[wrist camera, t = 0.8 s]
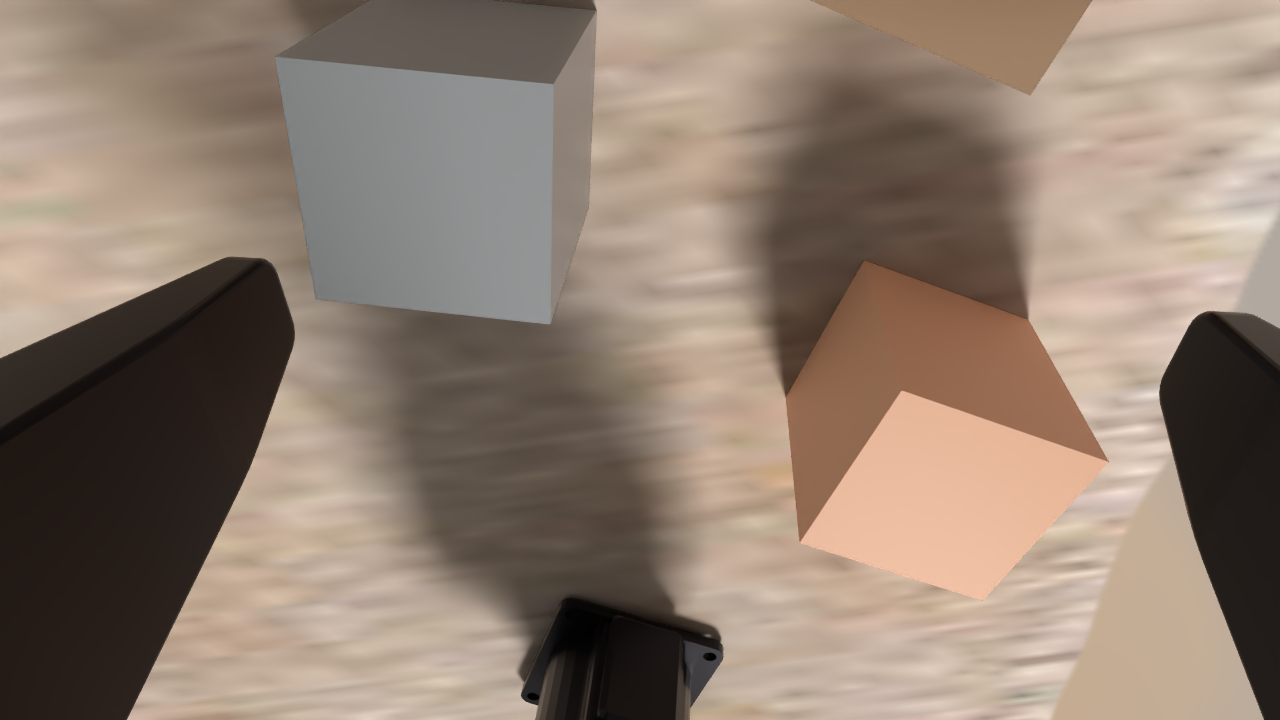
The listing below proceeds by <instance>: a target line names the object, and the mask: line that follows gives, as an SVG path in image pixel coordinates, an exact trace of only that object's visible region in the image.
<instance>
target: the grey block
mask: <svg viewBox="0 0 1280 720" xmlns="http://www.w3.org/2000/svg"><path fill="white" fill-rule="evenodd" d="M596 19H597V10H587V9H577V8H566V7H556V6H546V5H535V4H525V3H514V2H504V1H494V0H369V1H368V2H366V3H364V4H363V5H361V6H359V7H358V8H356V9H354V10H353V11H351V12H349V13H347V14H346V15H344V16H342V17H341V18H339V19H337V20H336V21H334V22H332V23H331V24H329V25H327V26H326V27H324V28H322V29H321V30H319V31H317V32H316V33H314V34H312V35H310V36H309V37H307V38H305V39H304V40H302V41H300V42H299V43H297V44H295V45H294V46H292V47H290V48H289V49H287V50H285V51H284V52H282V53H280V54H279V55H277V56H275V61H276V67H277V73H278V79H279V85H280V91H281V97H282V103H283V108H284V114H285V120H286V126H287V132H288V138H289V144H290V150H291V155H292V161H293V167H294V173H295V179H296V185H297V191H298V197H299V202H300V208H301V214H302V220H303V226H304V232H305V238H306V244H307V249H308V255H309V261H310V267H311V273H312V279H313V285H314V291H315V297H316V299H317V300H327V301H336V302H345V303H354V304H364V305H373V306H382V307H392V308H401V309H410V310H420V311H429V312H438V313H448V314H457V315H466V316H476V317H485V318H494V319H504V320H513V321H522V322H531V323H541V324H551V321H552V318H553V315H554V312H555V309H556V306H557V303H558V300H559V297H560V294H561V291H562V288H563V285H564V282H565V279H566V276H567V272H568V269H569V266H570V263H571V260H572V257H573V254H574V251H575V248H576V245H577V242H578V239H579V236H580V233H581V230H582V227H583V224H584V221H585V218H586V215H587V212H588V209H589V192H590V167H591V142H592V118H593V93H594V68H595V43H596Z"/></svg>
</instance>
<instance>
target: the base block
mask: <svg viewBox="0 0 1280 720" xmlns="http://www.w3.org/2000/svg"><path fill="white" fill-rule="evenodd" d="M811 1H813V2H816V3H818V4H820V5H823V6H825V7H827V8H830V9H832V10H834V11H837V12H839V13H841V14H844V15H846V16H848V17H850V18H853V19H855V20H857V21H860V22H862V23H864V24H867V25H869V26H871V27H874V28H876V29H878V30H880V31H883V32H885V33H887V34H890V35H892V36H894V37H897V38H899V39H901V40H904V41H906V42H908V43H911V44H913V45H915V46H917V47H920V48H922V49H924V50H927V51H929V52H931V53H934V54H936V55H938V56H941V57H943V58H945V59H948V60H950V61H952V62H954V63H957V64H959V65H961V66H964V67H966V68H968V69H971V70H973V71H975V72H978V73H980V74H982V75H984V76H987V77H989V78H991V79H994V80H996V81H998V82H1001V83H1003V84H1005V85H1008V86H1010V87H1012V88H1015V89H1017V90H1019V91H1021V92H1024V93H1026V94H1028V95H1031V94H1032V92H1033V90H1034V89H1035V87H1036V86H1037V84H1038V83H1039V81H1040V80H1041V78H1042V77H1043V75H1044V74H1045V72H1046V71H1047V69H1048V67H1049V66H1050V64H1051V63H1052V61H1053V60H1054V58H1055V57H1056V55H1057V54H1058V52H1059V51H1060V49H1061V48H1062V46H1063V45H1064V43H1065V41H1066V40H1067V38H1068V37H1069V35H1070V34H1071V32H1072V31H1073V29H1074V28H1075V26H1076V25H1077V23H1078V22H1079V20H1080V18H1081V17H1082V15H1083V14H1084V12H1085V11H1086V9H1087V8H1088V6H1089V5H1090V3H1091V2H1092V0H811Z"/></svg>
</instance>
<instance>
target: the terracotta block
mask: <svg viewBox="0 0 1280 720" xmlns="http://www.w3.org/2000/svg"><path fill="white" fill-rule="evenodd" d="M786 405H787V416H788V426H789V437H790V447H791V458H792V468H793V479H794V489H795V500H796V510H797V521H798V531H799V542H800V543H802V544H805V545H808V546H811V547H814V548H817V549H820V550H824V551H827V552H830V553H833V554H836V555H839V556H843V557H846V558H849V559H852V560H855V561H858V562H862V563H865V564H868V565H871V566H874V567H877V568H880V569H884V570H887V571H890V572H893V573H896V574H899V575H903V576H906V577H909V578H912V579H915V580H918V581H922V582H925V583H928V584H931V585H934V586H937V587H940V588H944V589H947V590H950V591H953V592H956V593H959V594H963V595H966V596H969V597H972V598H975V599H978V600H982V601H983V600H984V598H985V597H986V596H987V595H988V594H989V593H990V592H991V591H992V590H993V589H994V588H995V586H996V585H997V584H998V583H999V582H1000V581H1001V580H1002V579H1003V578H1004V577H1005V575H1006V574H1007V573H1008V572H1009V571H1010V570H1011V569H1012V568H1013V567H1014V566H1015V564H1016V563H1017V562H1018V561H1019V560H1020V559H1021V558H1022V557H1023V556H1024V555H1025V553H1026V552H1027V551H1028V550H1029V549H1030V548H1031V547H1032V546H1033V545H1034V544H1035V542H1036V541H1037V540H1038V539H1039V538H1040V537H1041V536H1042V535H1043V534H1044V533H1045V532H1046V530H1047V529H1048V528H1049V527H1050V526H1051V525H1052V524H1053V523H1054V522H1055V521H1056V519H1057V518H1058V517H1059V516H1060V515H1061V514H1062V513H1063V512H1064V511H1065V510H1066V508H1067V507H1068V506H1069V505H1070V504H1071V503H1072V502H1073V501H1074V500H1075V499H1076V497H1077V496H1078V495H1079V494H1080V493H1081V492H1082V491H1083V490H1084V489H1085V488H1086V486H1087V485H1088V484H1089V483H1090V482H1091V481H1092V480H1093V479H1094V478H1095V477H1096V475H1097V474H1098V473H1099V472H1100V471H1101V470H1102V469H1103V468H1104V467H1105V466H1106V465H1107V463H1108V462H1109V461H1108V460H1107V458H1106V456H1105V454H1104V452H1103V451H1102V449H1101V447H1100V445H1099V444H1098V442H1097V440H1096V438H1095V437H1094V435H1093V433H1092V431H1091V429H1090V428H1089V426H1088V424H1087V422H1086V421H1085V419H1084V417H1083V415H1082V414H1081V412H1080V410H1079V408H1078V406H1077V405H1076V403H1075V401H1074V399H1073V398H1072V396H1071V394H1070V392H1069V391H1068V389H1067V387H1066V385H1065V384H1064V382H1063V380H1062V378H1061V376H1060V375H1059V373H1058V371H1057V369H1056V368H1055V366H1054V364H1053V362H1052V361H1051V359H1050V357H1049V355H1048V353H1047V352H1046V350H1045V348H1044V346H1043V345H1042V343H1041V341H1040V339H1039V338H1038V336H1037V334H1036V332H1035V331H1034V329H1033V327H1032V325H1031V323H1030V322H1029V320H1027V319H1025V318H1022V317H1019V316H1016V315H1014V314H1011V313H1008V312H1005V311H1003V310H1000V309H997V308H994V307H992V306H989V305H986V304H983V303H980V302H978V301H975V300H972V299H969V298H967V297H964V296H961V295H958V294H956V293H953V292H950V291H947V290H945V289H942V288H939V287H936V286H934V285H931V284H928V283H925V282H923V281H920V280H917V279H914V278H912V277H909V276H906V275H903V274H901V273H898V272H895V271H892V270H890V269H887V268H884V267H881V266H879V265H876V264H873V263H870V262H868V261H865V260H864V261H863V263H862V265H861V266H860V268H859V270H858V272H857V273H856V275H855V277H854V279H853V280H852V282H851V284H850V286H849V287H848V289H847V291H846V293H845V294H844V296H843V298H842V300H841V301H840V303H839V305H838V307H837V308H836V310H835V312H834V314H833V315H832V317H831V319H830V321H829V322H828V324H827V326H826V328H825V330H824V331H823V333H822V335H821V337H820V338H819V340H818V342H817V344H816V345H815V347H814V349H813V351H812V352H811V354H810V356H809V358H808V359H807V361H806V363H805V365H804V366H803V368H802V370H801V372H800V373H799V375H798V377H797V379H796V380H795V382H794V384H793V386H792V387H791V389H790V391H789V393H788V394H787V396H786Z"/></svg>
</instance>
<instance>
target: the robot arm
mask: <svg viewBox="0 0 1280 720" xmlns="http://www.w3.org/2000/svg"><path fill="white" fill-rule="evenodd" d="M294 339H295V330H294V324H293V320H292V317H291V314H290V311H289V307H288V304H287V301H286V298H285V295H284V292H283V289H282V286H281V283H280V280H279V277H278V274H277V272H276V269H275V268H274V266H273V265H272V264H271V263H270V262H269V261H267V260H265V259H262V258H246V257H226V258H223V259H221V260H219V261H216V262H214V263H212V264H210V265H207V266H205V267H203V268H201V269H198V270H196V271H194V272H192V273H190V274H187V275H185V276H183V277H181V278H178V279H176V280H174V281H172V282H169V283H167V284H165V285H163V286H161V287H158V288H156V289H154V290H152V291H149V292H147V293H145V294H143V295H140V296H138V297H136V298H134V299H131V300H129V301H127V302H125V303H123V304H120V305H118V306H116V307H114V308H111V309H109V310H107V311H105V312H102V313H100V314H98V315H96V316H94V317H91V318H89V319H87V320H85V321H82V322H80V323H78V324H76V325H73V326H71V327H69V328H67V329H65V330H62V331H60V332H58V333H56V334H53V335H51V336H49V337H47V338H44V339H42V340H40V341H38V342H36V343H33V344H31V345H29V346H27V347H24V348H22V349H20V350H18V351H15V352H13V353H11V354H9V355H7V356H4V357H2V358H0V720H127V718H128V716H129V714H130V712H131V710H132V708H133V706H134V704H135V702H136V700H137V698H138V696H139V694H140V692H141V690H142V688H143V686H144V684H145V682H146V680H147V678H148V676H149V674H150V672H151V669H152V667H153V665H154V663H155V661H156V659H157V657H158V655H159V653H160V651H161V649H162V647H163V645H164V643H165V641H166V639H167V637H168V635H169V633H170V631H171V629H172V627H173V625H174V623H175V621H176V619H177V616H178V614H179V612H180V610H181V608H182V606H183V604H184V602H185V600H186V598H187V596H188V594H189V592H190V590H191V588H192V586H193V584H194V582H195V580H196V578H197V576H198V574H199V572H200V570H201V568H202V566H203V564H204V561H205V559H206V557H207V555H208V553H209V551H210V549H211V547H212V545H213V543H214V541H215V539H216V537H217V535H218V533H219V531H220V529H221V527H222V525H223V523H224V521H225V519H226V517H227V515H228V513H229V511H230V509H231V506H232V504H233V502H234V500H235V498H236V496H237V494H238V492H239V490H240V488H241V486H242V484H243V482H244V479H245V477H246V475H247V473H248V471H249V468H250V466H251V464H252V461H253V458H254V456H255V453H256V451H257V448H258V446H259V443H260V440H261V437H262V434H263V431H264V428H265V426H266V423H267V420H268V417H269V414H270V411H271V409H272V406H273V403H274V400H275V397H276V394H277V392H278V389H279V386H280V383H281V380H282V377H283V375H284V372H285V369H286V366H287V363H288V360H289V357H290V355H291V352H292V349H293V345H294ZM1159 397H1160V405H1161V409H1162V413H1163V417H1164V421H1165V425H1166V429H1167V433H1168V437H1169V441H1170V445H1171V449H1172V453H1173V457H1174V461H1175V465H1176V469H1177V473H1178V477H1179V481H1180V485H1181V488H1182V493H1183V496H1184V501H1185V505H1186V509H1187V513H1188V517H1189V520H1190V523H1191V527H1192V530H1193V533H1194V537H1195V540H1196V543H1197V546H1198V549H1199V551H1200V554H1201V557H1202V560H1203V563H1204V565H1205V568H1206V570H1207V573H1208V575H1209V578H1210V581H1211V583H1212V586H1213V589H1214V591H1215V594H1216V596H1217V599H1218V602H1219V604H1220V607H1221V609H1222V612H1223V614H1224V617H1225V620H1226V622H1227V625H1228V627H1229V630H1230V633H1231V635H1232V638H1233V641H1234V643H1235V646H1236V648H1237V651H1238V654H1239V656H1240V659H1241V661H1242V664H1243V666H1244V669H1245V672H1246V674H1247V677H1248V680H1249V682H1250V684H1251V687H1252V690H1253V693H1254V695H1255V698H1256V700H1257V703H1258V705H1259V708H1260V711H1261V713H1262V716H1263V718H1264V720H1280V329H1279V328H1278V327H1275V326H1274V325H1272V324H1270V323H1268V322H1266V321H1265V320H1263V319H1261V318H1258V317H1257V316H1255V315H1252V314H1248V313H1237V312H1218V311H1207V312H1204V313H1202V314H1200V315H1198V316H1197V317H1196V318H1195V319H1194V320H1193V321H1192V322H1191V324H1190V325H1189V327H1188V329H1187V331H1186V333H1185V335H1184V337H1183V338H1182V340H1181V342H1180V344H1179V346H1178V348H1177V350H1176V352H1175V354H1174V356H1173V358H1172V360H1171V361H1170V363H1169V365H1168V367H1167V369H1166V371H1165V373H1164V375H1163V377H1162V380H1161V384H1160V391H1159ZM722 660H723V646H722V644H721V643H720V642H718V641H716V640H712V639H709V638H706V637H702V636H699V635H696V634H692V633H689V632H686V631H682V630H679V629H676V628H672V627H669V626H666V625H662V624H659V623H656V622H652V621H649V620H646V619H642V618H639V617H635V616H632V615H629V614H625V613H622V612H619V611H615V610H612V609H609V608H605V607H602V606H599V605H595V604H592V603H589V602H585V601H582V600H579V599H574V598H568V599H565V600H563V601H562V602H561V603H560V605H559V607H558V609H557V612H556V614H555V616H554V618H553V620H552V623H551V625H550V627H549V629H548V631H547V634H546V636H545V638H544V640H543V642H542V645H541V647H540V649H539V651H538V653H537V656H536V658H535V660H534V662H533V664H532V667H531V669H530V671H529V673H528V676H527V678H526V680H525V682H524V684H523V689H522V693H521V697H522V698H523V699H524V700H525V701H526V702H529V703H531V704H535V705H538V709H537V714H536V718H535V720H690V708H691V706H692V705H693V703H694V702H695V700H696V699H697V697H698V696H699V694H700V693H701V691H702V690H703V688H704V687H705V685H706V684H707V682H708V681H709V679H710V678H711V676H712V675H713V674H714V672H715V671H716V669H717V668H718V666H719V665H720V663H721V662H722Z"/></svg>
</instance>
